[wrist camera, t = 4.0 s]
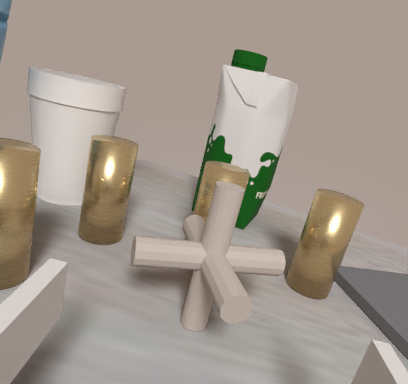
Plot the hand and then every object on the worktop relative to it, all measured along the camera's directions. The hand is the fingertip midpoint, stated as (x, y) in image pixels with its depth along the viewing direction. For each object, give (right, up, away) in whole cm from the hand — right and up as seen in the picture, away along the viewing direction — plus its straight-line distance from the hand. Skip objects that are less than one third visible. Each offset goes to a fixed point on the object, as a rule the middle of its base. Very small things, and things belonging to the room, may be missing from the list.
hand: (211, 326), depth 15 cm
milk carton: (+3, +3, +31) cm, 32 cm away
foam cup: (-16, +5, +25) cm, 30 cm away
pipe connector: (-1, -3, +9) cm, 10 cm away
